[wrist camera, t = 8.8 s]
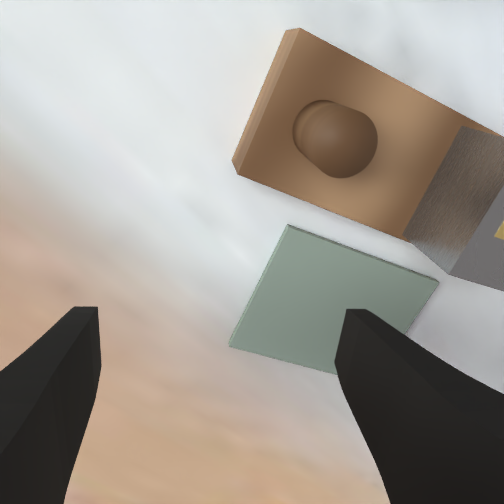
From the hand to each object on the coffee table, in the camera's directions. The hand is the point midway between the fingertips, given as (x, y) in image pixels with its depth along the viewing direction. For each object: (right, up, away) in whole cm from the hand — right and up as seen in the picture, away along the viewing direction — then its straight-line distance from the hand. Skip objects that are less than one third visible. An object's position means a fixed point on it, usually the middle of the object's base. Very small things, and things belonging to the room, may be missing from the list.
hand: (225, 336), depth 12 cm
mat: (+6, -1, +12) cm, 14 cm away
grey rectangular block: (+10, +5, +7) cm, 14 cm away
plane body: (+9, +7, +9) cm, 15 cm away
